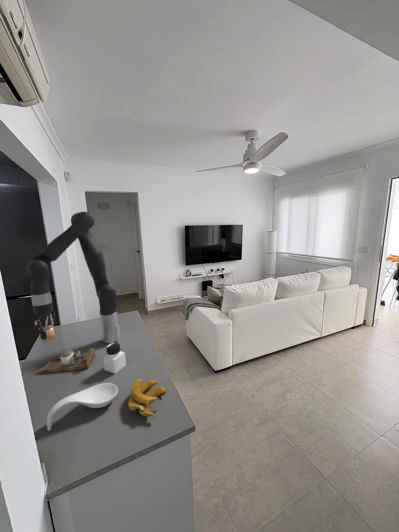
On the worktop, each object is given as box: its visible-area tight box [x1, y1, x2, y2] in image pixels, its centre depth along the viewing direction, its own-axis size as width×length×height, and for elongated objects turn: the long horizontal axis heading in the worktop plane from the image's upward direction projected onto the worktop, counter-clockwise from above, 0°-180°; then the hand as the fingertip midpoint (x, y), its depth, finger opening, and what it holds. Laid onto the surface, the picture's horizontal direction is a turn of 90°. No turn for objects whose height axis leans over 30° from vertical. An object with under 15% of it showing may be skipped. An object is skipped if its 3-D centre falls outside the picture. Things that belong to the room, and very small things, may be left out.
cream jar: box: [60, 349, 75, 367], centre depth 107 cm, size 6×6×6 cm
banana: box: [127, 378, 167, 418], centre depth 83 cm, size 15×19×6 cm
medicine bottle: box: [102, 342, 127, 375], centre depth 103 cm, size 7×7×12 cm
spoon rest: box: [46, 382, 119, 432], centre depth 80 cm, size 24×12×7 cm, turn 129°
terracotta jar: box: [39, 324, 56, 342], centre depth 104 cm, size 6×6×6 cm
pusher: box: [72, 350, 81, 366], centre depth 107 cm, size 1×7×5 cm, turn 7°
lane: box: [38, 347, 96, 374], centre depth 107 cm, size 22×10×5 cm, turn 97°
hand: (47, 335), depth 104 cm, fingers closed on terracotta jar, 5 cm apart
